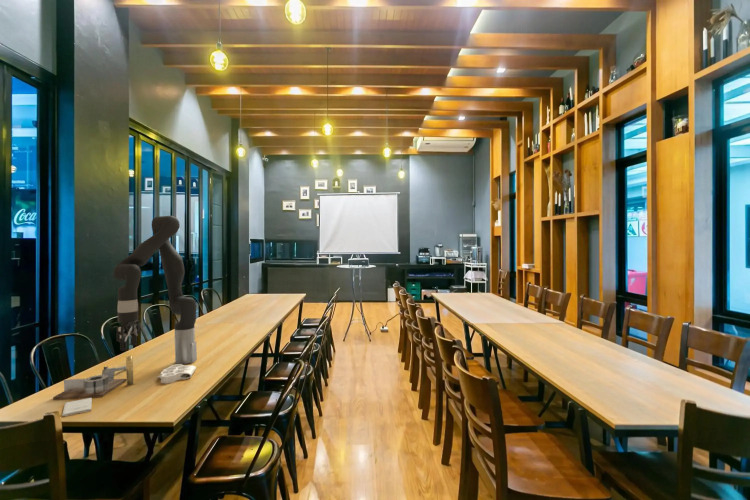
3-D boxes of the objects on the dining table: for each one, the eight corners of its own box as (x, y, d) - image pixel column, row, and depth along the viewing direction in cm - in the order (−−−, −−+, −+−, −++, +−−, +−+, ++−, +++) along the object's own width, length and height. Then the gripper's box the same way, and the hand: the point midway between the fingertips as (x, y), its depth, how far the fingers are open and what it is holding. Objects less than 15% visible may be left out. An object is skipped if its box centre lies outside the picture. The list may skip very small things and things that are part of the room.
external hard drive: (91, 401, 150) (91, 412, 140) (65, 406, 145) (62, 418, 135) (91, 397, 150) (90, 408, 140) (64, 402, 145) (62, 414, 135)
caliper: (104, 382, 170) (103, 367, 170) (101, 382, 170) (101, 368, 170) (133, 367, 191) (133, 354, 191) (131, 367, 191) (131, 354, 191)
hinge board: (126, 380, 170) (126, 378, 170) (102, 396, 153) (102, 394, 153) (82, 383, 168) (82, 380, 168) (53, 399, 151) (53, 397, 151)
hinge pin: (134, 383, 167) (133, 355, 167) (131, 385, 165) (130, 357, 165) (128, 383, 167) (127, 356, 167) (125, 385, 165) (124, 357, 164)
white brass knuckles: (189, 381, 169) (152, 385, 165) (197, 369, 186) (164, 372, 183) (189, 374, 169) (152, 377, 165) (197, 362, 186) (163, 365, 182)
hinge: (122, 379, 169) (122, 368, 169) (101, 393, 153) (100, 381, 153) (83, 381, 168) (83, 370, 167) (57, 395, 152) (57, 383, 152)
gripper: (128, 313, 159) (129, 351, 159) (145, 307, 173) (146, 343, 173) (109, 313, 158) (110, 352, 158) (127, 308, 172) (128, 344, 172)
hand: (128, 347), depth 166 cm, fingers open, 8 cm apart
